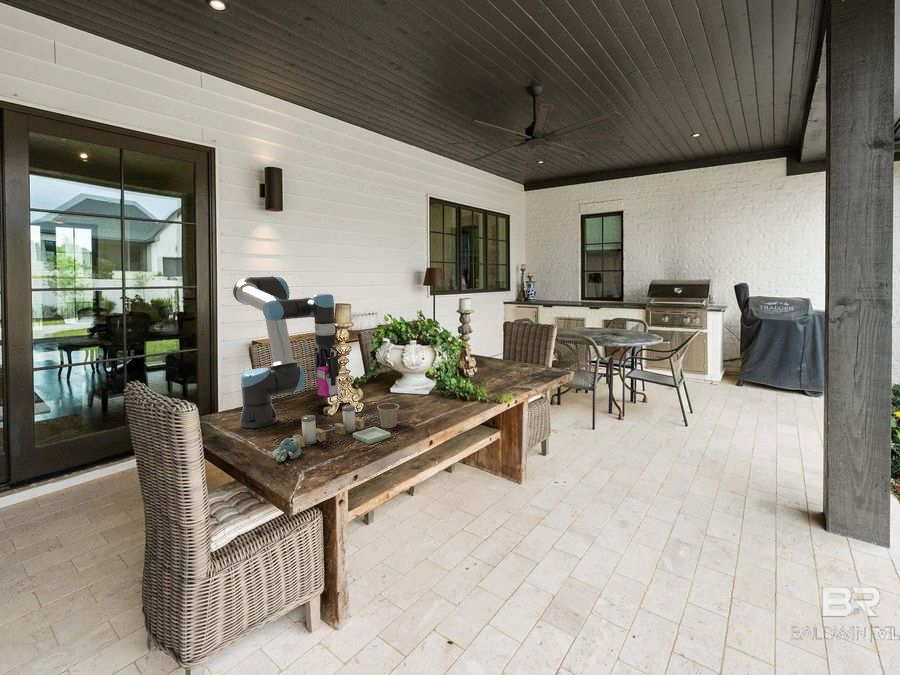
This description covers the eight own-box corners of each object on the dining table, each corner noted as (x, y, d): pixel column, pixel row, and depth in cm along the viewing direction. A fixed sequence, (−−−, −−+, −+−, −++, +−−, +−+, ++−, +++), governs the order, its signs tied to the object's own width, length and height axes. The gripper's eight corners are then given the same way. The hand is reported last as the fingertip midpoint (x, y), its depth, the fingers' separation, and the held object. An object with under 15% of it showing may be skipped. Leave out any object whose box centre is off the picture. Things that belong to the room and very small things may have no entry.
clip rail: (289, 442, 178) (288, 433, 178) (353, 423, 199) (352, 416, 198) (299, 447, 173) (299, 438, 172) (364, 428, 193) (363, 420, 192)
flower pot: (403, 427, 194) (403, 407, 193) (383, 431, 189) (382, 411, 188) (394, 421, 202) (393, 402, 201) (374, 425, 197) (373, 405, 196)
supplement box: (329, 392, 186) (328, 364, 184) (338, 395, 182) (337, 367, 181) (317, 395, 182) (316, 367, 180) (326, 398, 178) (325, 369, 176)
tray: (352, 437, 182) (352, 433, 182) (374, 430, 190) (374, 426, 190) (368, 444, 175) (368, 439, 175) (390, 437, 182) (390, 432, 182)
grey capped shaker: (340, 430, 191) (339, 407, 189) (351, 427, 194) (350, 404, 193) (347, 433, 187) (346, 409, 186) (358, 430, 191) (357, 407, 189)
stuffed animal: (262, 449, 157) (277, 431, 169) (266, 467, 160) (280, 447, 171) (293, 450, 157) (306, 431, 168) (295, 467, 159) (308, 448, 170)
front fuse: (300, 442, 178) (298, 417, 177) (312, 438, 182) (311, 414, 180) (306, 445, 174) (305, 420, 173) (319, 441, 178) (317, 417, 177)
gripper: (304, 332, 182) (307, 389, 186) (329, 337, 169) (332, 398, 173) (321, 330, 188) (324, 385, 191) (347, 335, 174) (349, 394, 178)
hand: (328, 391), depth 182 cm, fingers closed on supplement box, 6 cm apart
